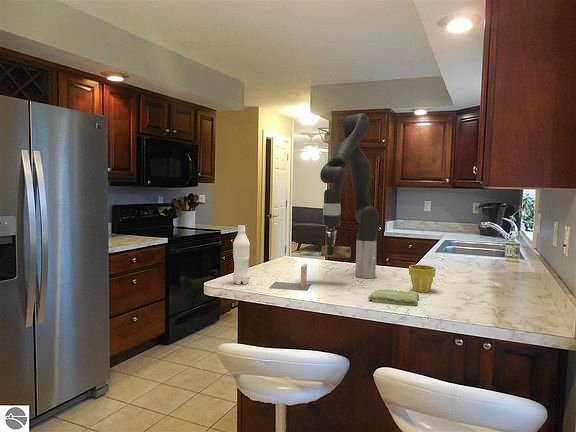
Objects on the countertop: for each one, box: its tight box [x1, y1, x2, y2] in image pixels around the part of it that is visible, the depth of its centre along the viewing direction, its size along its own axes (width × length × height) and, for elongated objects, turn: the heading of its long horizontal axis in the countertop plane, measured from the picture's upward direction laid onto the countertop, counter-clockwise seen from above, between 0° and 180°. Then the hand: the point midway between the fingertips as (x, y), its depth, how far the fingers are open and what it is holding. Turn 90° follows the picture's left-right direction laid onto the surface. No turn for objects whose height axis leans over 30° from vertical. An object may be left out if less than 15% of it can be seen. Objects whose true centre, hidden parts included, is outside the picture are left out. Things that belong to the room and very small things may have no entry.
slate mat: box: [268, 281, 313, 292], centre depth 175 cm, size 16×12×1 cm
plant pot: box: [408, 264, 437, 293], centre depth 173 cm, size 10×10×10 cm
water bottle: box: [232, 224, 251, 285], centre depth 180 cm, size 7×7×25 cm
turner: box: [299, 245, 352, 259], centre depth 180 cm, size 21×6×4 cm, turn 77°
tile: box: [300, 263, 308, 289], centre depth 174 cm, size 1×7×9 cm, turn 168°
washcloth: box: [367, 289, 420, 307], centre depth 158 cm, size 13×18×3 cm
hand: (330, 254), depth 180 cm, fingers closed on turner, 4 cm apart
